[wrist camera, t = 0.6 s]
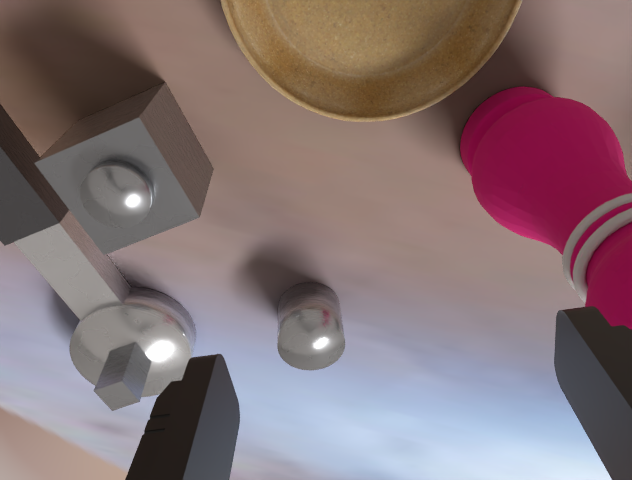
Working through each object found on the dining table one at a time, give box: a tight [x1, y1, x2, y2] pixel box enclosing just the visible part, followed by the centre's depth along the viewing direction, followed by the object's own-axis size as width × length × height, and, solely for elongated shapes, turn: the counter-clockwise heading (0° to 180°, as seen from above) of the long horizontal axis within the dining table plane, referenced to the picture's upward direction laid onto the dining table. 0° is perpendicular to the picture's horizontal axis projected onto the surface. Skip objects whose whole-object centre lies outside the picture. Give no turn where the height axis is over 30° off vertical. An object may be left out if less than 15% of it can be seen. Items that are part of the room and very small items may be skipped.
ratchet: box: [0, 105, 196, 411], centre depth 31 cm, size 25×8×6 cm, turn 22°
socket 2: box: [278, 282, 345, 370], centre depth 36 cm, size 4×4×4 cm
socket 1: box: [34, 82, 213, 255], centre depth 27 cm, size 6×6×7 cm
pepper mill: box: [460, 87, 632, 330], centre depth 23 cm, size 7×7×20 cm
